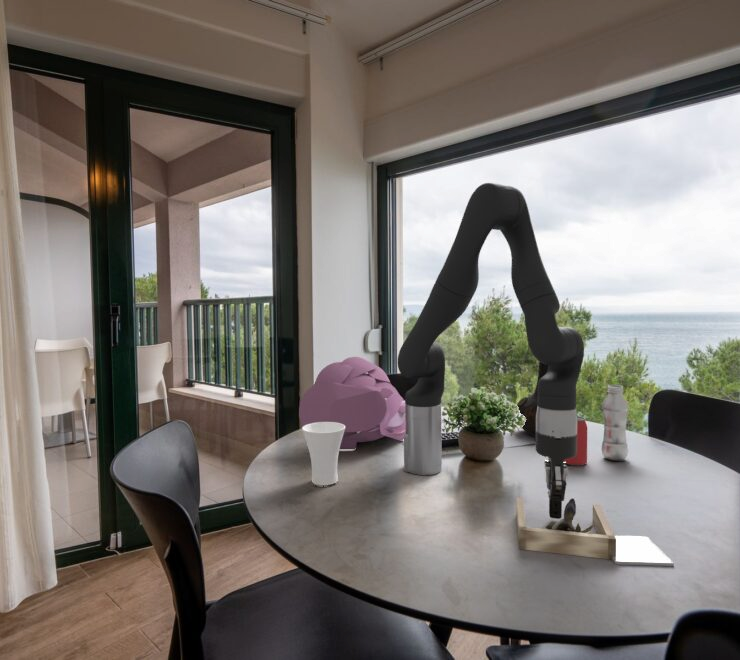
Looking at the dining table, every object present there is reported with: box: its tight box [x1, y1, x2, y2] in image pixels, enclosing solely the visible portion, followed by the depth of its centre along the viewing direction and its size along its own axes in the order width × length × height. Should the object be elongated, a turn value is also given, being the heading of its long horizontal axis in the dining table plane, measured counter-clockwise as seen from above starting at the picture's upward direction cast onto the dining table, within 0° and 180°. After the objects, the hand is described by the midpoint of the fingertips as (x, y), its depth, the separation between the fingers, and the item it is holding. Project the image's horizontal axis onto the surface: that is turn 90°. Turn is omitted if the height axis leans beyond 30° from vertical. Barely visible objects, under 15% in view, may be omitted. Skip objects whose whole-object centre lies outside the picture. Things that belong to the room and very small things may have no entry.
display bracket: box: [515, 497, 616, 560], centre depth 90 cm, size 15×14×4 cm
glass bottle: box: [516, 361, 549, 437], centre depth 156 cm, size 18×18×28 cm
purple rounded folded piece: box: [298, 356, 406, 449], centre depth 151 cm, size 35×24×28 cm
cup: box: [301, 422, 345, 485], centre depth 118 cm, size 10×10×14 cm
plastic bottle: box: [601, 384, 629, 462], centre depth 131 cm, size 6×7×20 cm
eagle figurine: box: [544, 497, 594, 533], centre depth 88 cm, size 8×7×9 cm
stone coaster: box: [611, 535, 675, 567], centre depth 84 cm, size 9×9×1 cm
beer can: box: [564, 415, 588, 467], centre depth 129 cm, size 7×7×12 cm
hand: (555, 516), depth 95 cm, fingers closed
